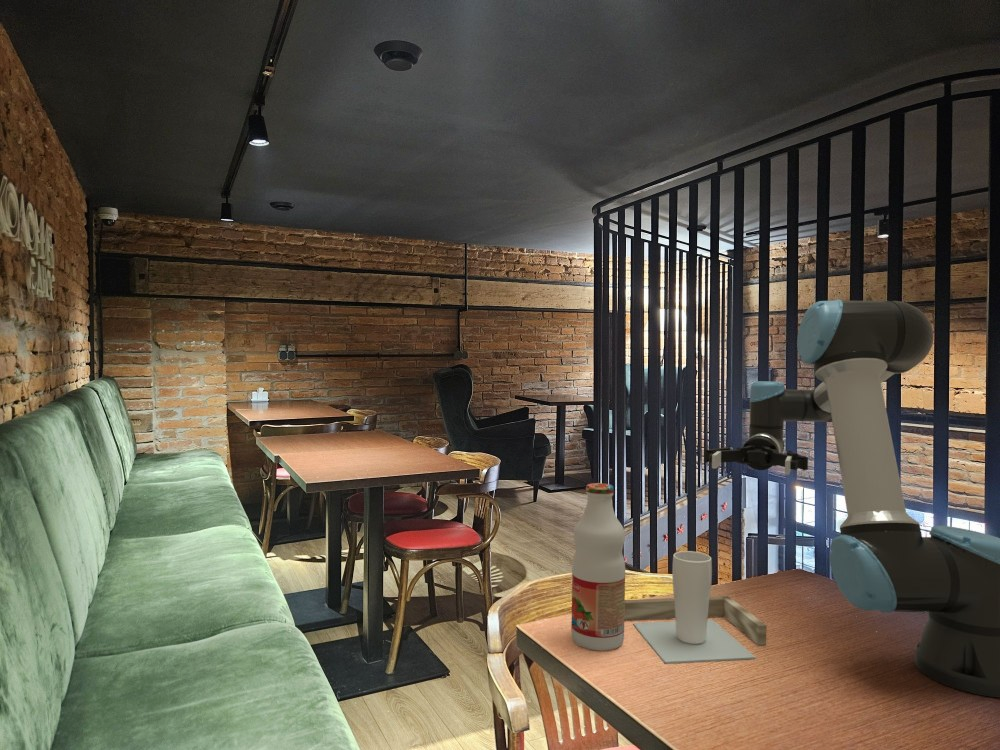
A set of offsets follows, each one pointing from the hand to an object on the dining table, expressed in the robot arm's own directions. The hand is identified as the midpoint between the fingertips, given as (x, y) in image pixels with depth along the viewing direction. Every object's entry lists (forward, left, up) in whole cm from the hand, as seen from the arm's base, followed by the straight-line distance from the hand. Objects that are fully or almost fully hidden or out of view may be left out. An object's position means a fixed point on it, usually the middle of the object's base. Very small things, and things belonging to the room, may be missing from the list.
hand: (749, 464), depth 129 cm
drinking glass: (-10, +16, -30) cm, 35 cm away
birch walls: (-6, +15, -30) cm, 34 cm away
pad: (-10, +16, -30) cm, 36 cm away
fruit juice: (-8, +33, -30) cm, 45 cm away
